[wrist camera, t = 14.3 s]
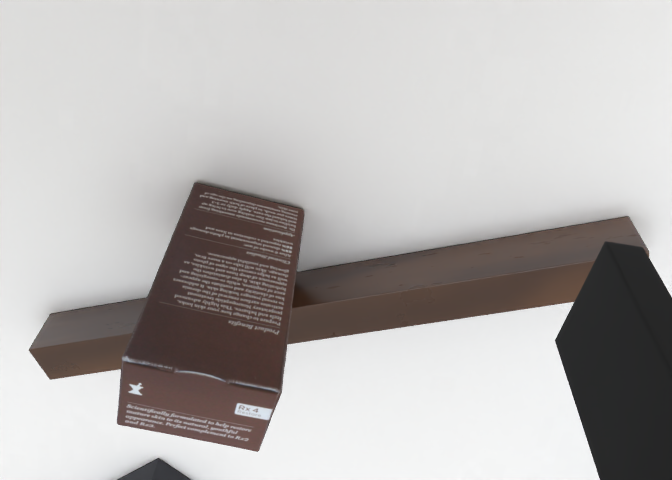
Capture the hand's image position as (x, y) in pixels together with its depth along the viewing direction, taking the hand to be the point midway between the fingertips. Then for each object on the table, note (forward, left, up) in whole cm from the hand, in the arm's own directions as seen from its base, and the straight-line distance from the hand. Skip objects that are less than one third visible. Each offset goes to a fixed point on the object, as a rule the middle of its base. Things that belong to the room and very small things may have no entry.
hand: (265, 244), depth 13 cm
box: (+11, -7, -18) cm, 22 cm away
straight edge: (+15, -4, -18) cm, 24 cm away
